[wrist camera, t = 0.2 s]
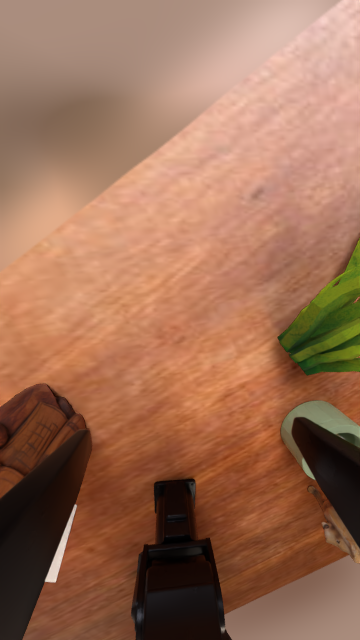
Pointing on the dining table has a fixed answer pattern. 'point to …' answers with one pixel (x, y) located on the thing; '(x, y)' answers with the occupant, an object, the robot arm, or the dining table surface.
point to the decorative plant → (329, 326)
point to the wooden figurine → (32, 431)
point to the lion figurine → (336, 528)
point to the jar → (324, 417)
